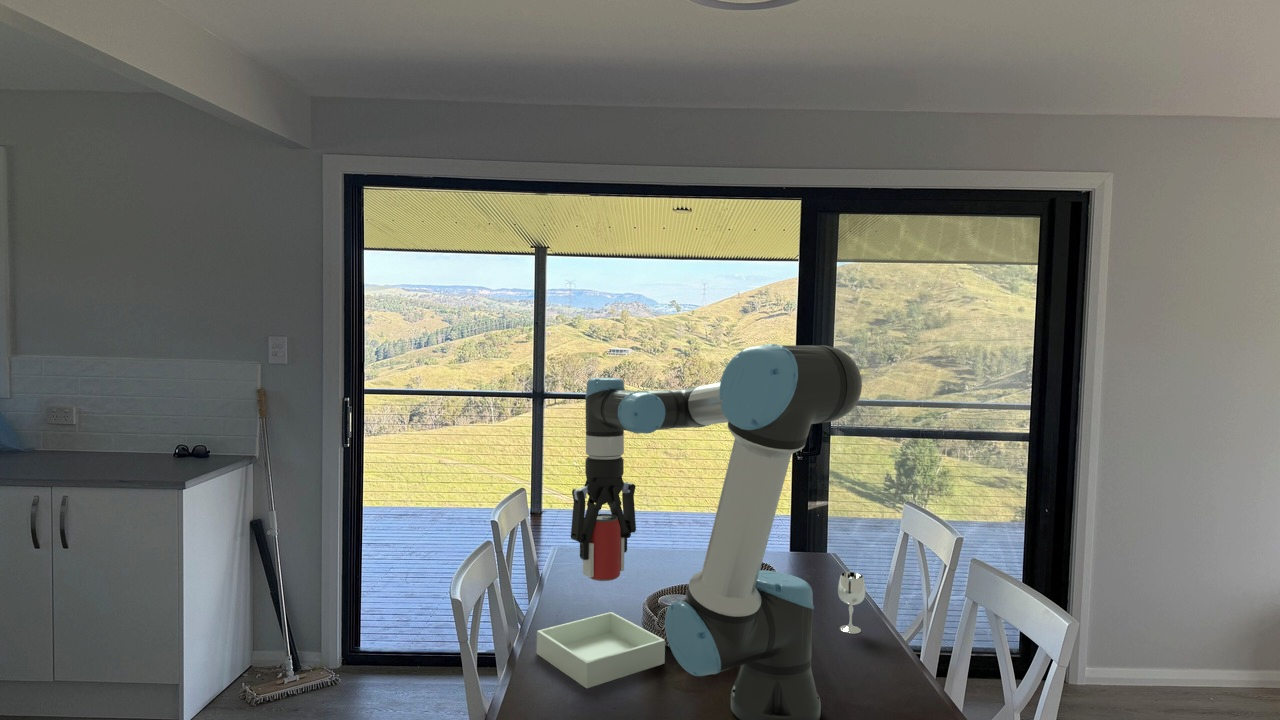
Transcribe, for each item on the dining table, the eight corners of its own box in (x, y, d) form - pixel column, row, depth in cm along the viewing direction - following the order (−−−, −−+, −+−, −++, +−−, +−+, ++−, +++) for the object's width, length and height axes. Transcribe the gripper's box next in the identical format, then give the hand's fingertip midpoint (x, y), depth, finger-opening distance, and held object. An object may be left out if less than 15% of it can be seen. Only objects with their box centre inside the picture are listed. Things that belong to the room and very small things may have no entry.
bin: (664, 663, 149) (665, 640, 149) (586, 688, 138) (587, 663, 138) (611, 633, 164) (611, 611, 163) (536, 653, 153) (536, 630, 153)
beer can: (615, 583, 149) (616, 521, 148) (582, 580, 150) (583, 519, 150) (623, 573, 155) (624, 514, 155) (592, 570, 157) (592, 512, 156)
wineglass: (833, 631, 167) (835, 576, 166) (840, 622, 172) (841, 569, 171) (860, 636, 164) (862, 581, 164) (866, 627, 169) (868, 573, 169)
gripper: (633, 450, 161) (632, 559, 161) (551, 457, 149) (551, 576, 150) (655, 454, 155) (654, 568, 155) (571, 463, 143) (571, 586, 144)
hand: (603, 572), depth 153 cm, fingers closed on beer can, 6 cm apart
